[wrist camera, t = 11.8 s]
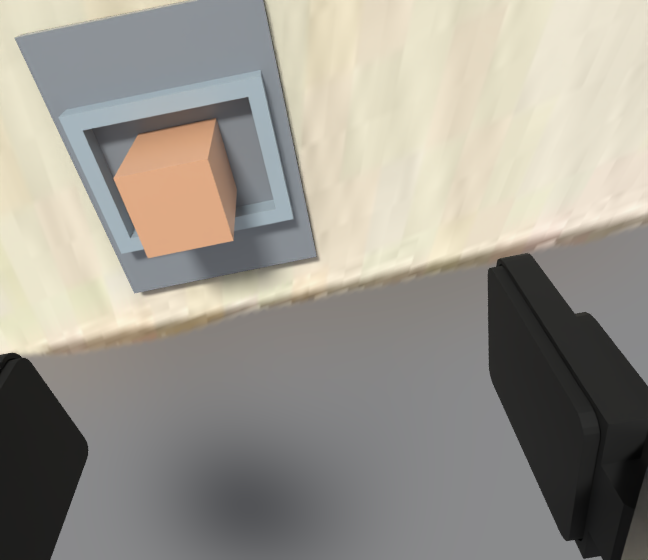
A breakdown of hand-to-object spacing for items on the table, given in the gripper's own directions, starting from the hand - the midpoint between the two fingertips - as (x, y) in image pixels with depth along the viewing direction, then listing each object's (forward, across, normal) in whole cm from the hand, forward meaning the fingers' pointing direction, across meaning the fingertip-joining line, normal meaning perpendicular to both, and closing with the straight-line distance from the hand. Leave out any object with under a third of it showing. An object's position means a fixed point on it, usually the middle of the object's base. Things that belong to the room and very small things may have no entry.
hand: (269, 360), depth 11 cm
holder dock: (+26, +7, +4) cm, 27 cm away
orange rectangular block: (+25, +7, +4) cm, 26 cm away
